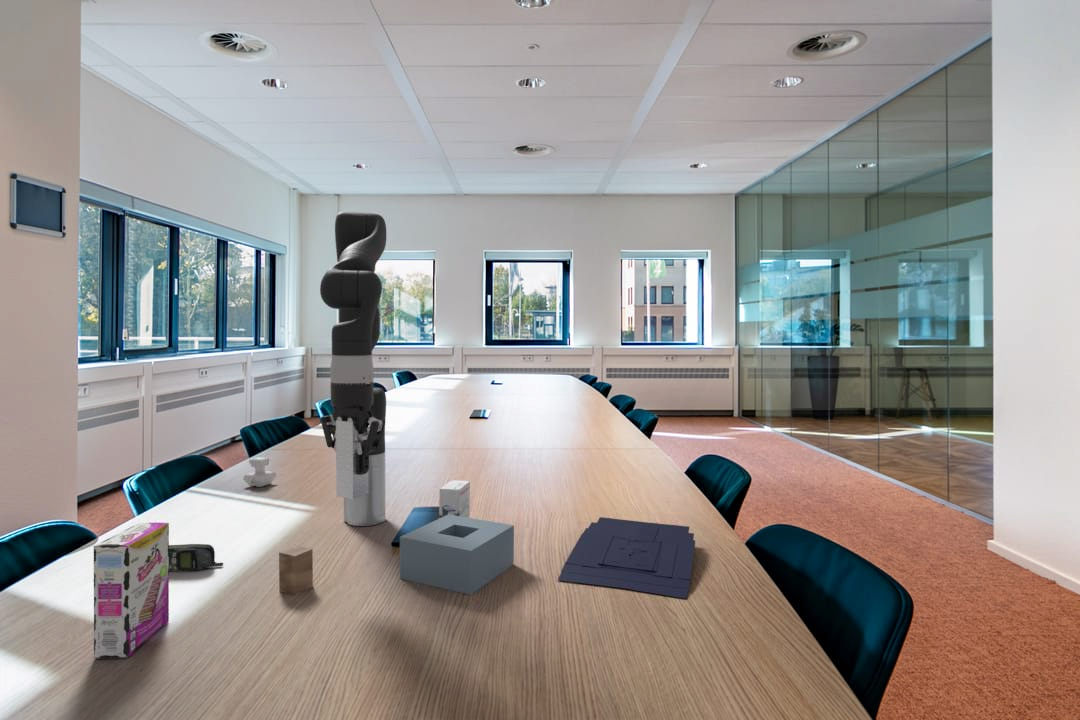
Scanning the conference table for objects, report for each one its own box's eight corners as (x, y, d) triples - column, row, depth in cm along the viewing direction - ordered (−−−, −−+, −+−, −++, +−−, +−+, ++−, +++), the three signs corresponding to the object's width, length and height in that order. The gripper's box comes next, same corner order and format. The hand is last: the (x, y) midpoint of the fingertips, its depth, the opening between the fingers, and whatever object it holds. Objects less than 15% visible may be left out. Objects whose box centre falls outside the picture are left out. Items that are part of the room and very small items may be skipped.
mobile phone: (133, 550, 113) (218, 545, 116) (142, 545, 116) (223, 539, 119) (135, 576, 114) (219, 570, 116) (143, 570, 117) (224, 564, 119)
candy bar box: (129, 659, 84) (127, 545, 83) (92, 660, 84) (90, 546, 83) (172, 621, 95) (170, 520, 95) (139, 622, 95) (137, 521, 94)
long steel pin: (336, 496, 108) (335, 420, 108) (352, 491, 112) (351, 417, 111) (353, 499, 107) (352, 422, 106) (368, 493, 110) (368, 419, 110)
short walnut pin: (279, 590, 107) (278, 552, 107) (297, 582, 111) (296, 545, 110) (295, 594, 105) (294, 556, 105) (312, 586, 109) (312, 548, 109)
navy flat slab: (697, 539, 133) (698, 523, 132) (687, 613, 105) (687, 594, 104) (592, 527, 141) (592, 512, 140) (556, 593, 112) (555, 575, 112)
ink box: (451, 527, 143) (451, 479, 142) (470, 529, 142) (471, 480, 141) (437, 539, 135) (437, 488, 134) (458, 541, 134) (459, 489, 133)
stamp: (259, 490, 176) (258, 461, 176) (240, 488, 178) (239, 460, 177) (279, 482, 185) (279, 456, 184) (261, 481, 186) (260, 454, 186)
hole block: (399, 578, 113) (399, 536, 112) (448, 551, 127) (448, 514, 127) (471, 594, 106) (471, 550, 105) (513, 564, 120) (513, 525, 120)
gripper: (307, 379, 108) (308, 472, 109) (367, 383, 102) (368, 481, 103) (338, 377, 115) (338, 464, 116) (396, 380, 109) (396, 472, 109)
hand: (352, 472), depth 109 cm, fingers closed on long steel pin, 4 cm apart
